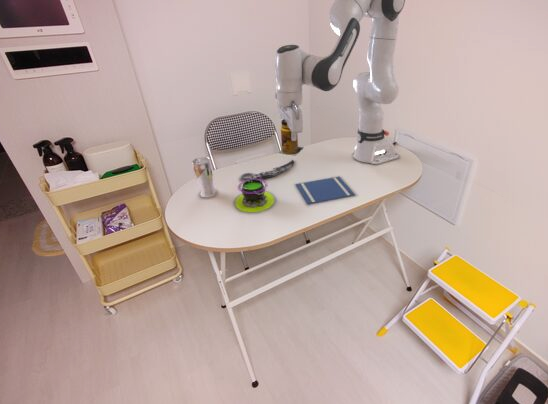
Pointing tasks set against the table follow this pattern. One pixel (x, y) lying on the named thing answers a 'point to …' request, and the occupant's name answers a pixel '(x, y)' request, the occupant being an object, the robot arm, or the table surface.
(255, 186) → the toy cauldron
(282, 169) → the knife
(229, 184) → the table surface
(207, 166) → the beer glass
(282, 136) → the condiment
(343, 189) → the blue board
